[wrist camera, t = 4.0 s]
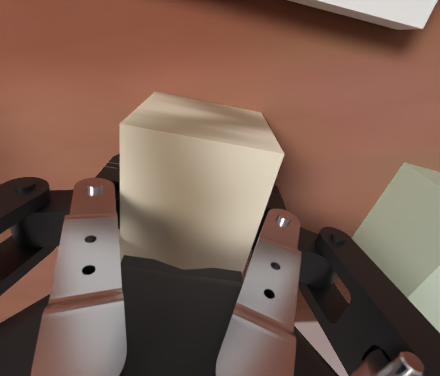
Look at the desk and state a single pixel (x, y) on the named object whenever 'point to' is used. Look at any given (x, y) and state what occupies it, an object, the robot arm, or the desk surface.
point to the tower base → (380, 11)
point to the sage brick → (408, 237)
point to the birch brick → (194, 181)
